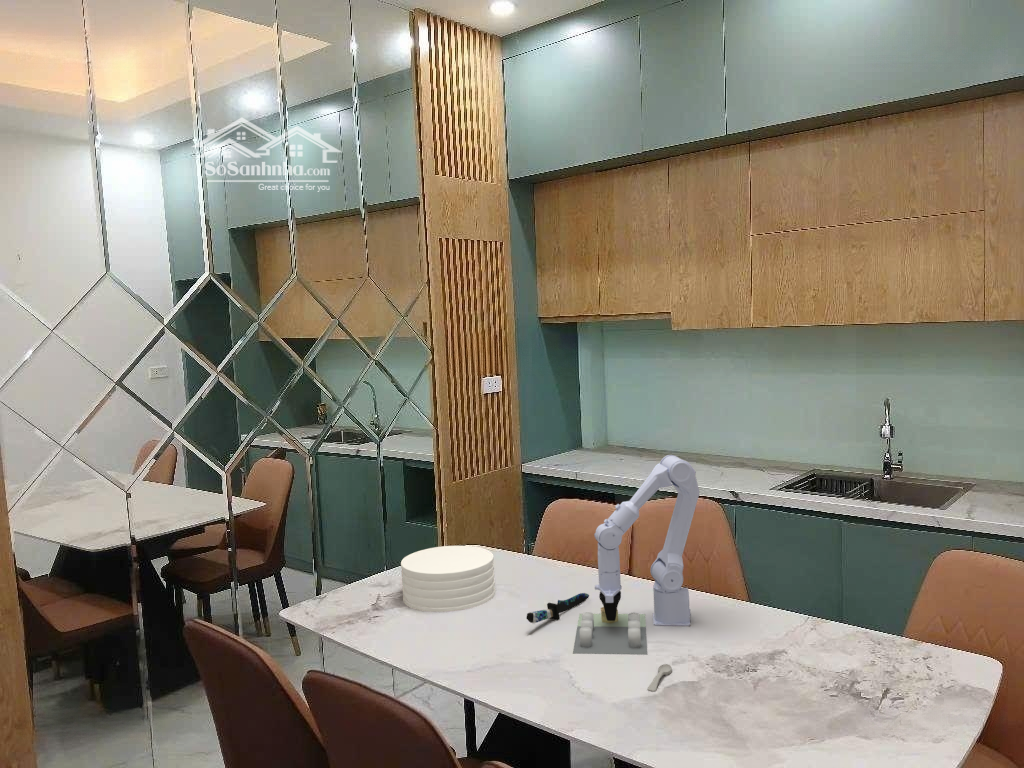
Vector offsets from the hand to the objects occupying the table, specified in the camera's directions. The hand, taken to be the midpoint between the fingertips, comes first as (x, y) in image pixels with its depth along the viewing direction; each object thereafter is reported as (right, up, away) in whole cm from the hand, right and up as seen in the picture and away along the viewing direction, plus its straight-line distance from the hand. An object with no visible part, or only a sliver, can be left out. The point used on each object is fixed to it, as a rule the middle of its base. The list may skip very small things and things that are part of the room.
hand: (611, 619), depth 204 cm
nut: (0, -1, +4) cm, 4 cm away
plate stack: (-45, -2, +30) cm, 55 cm away
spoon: (+7, -4, -32) cm, 33 cm away
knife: (-13, -2, +9) cm, 16 cm away
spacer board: (-1, -2, -5) cm, 5 cm away
